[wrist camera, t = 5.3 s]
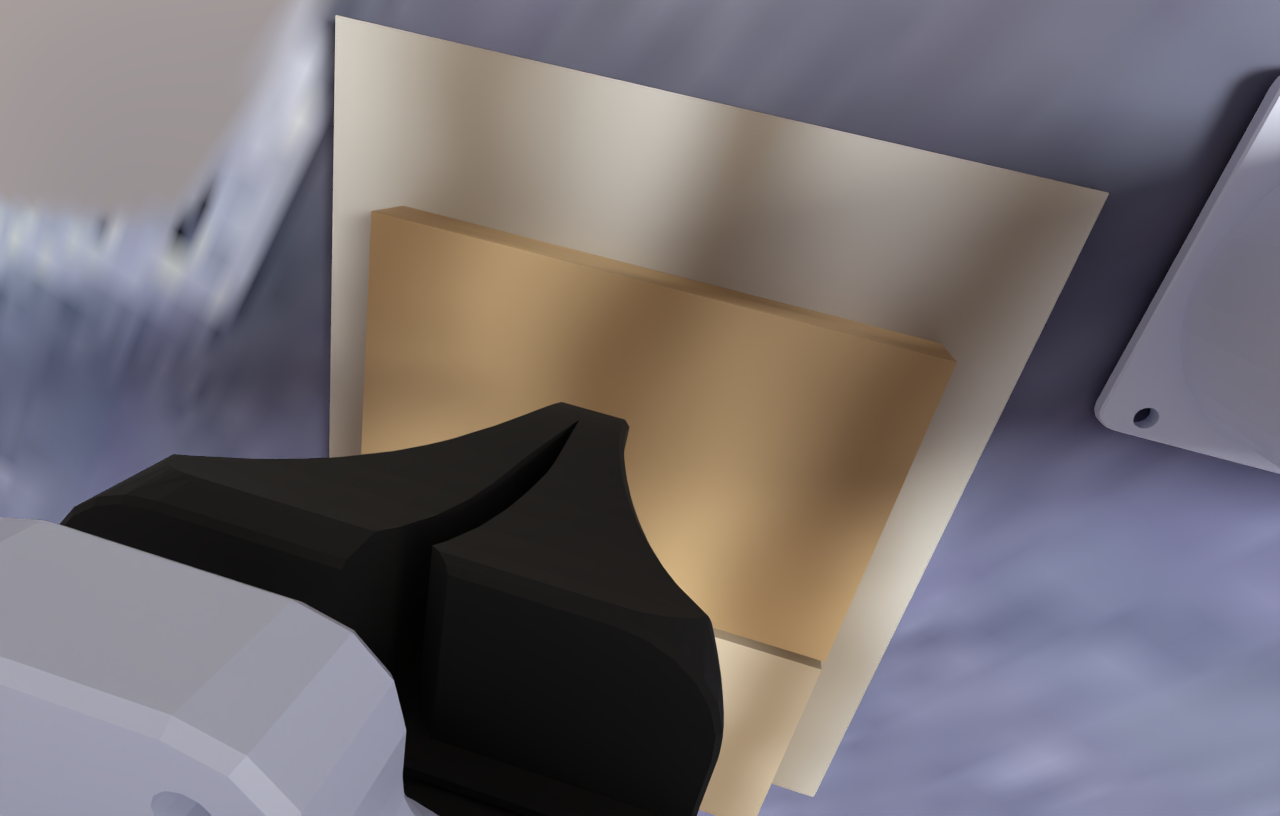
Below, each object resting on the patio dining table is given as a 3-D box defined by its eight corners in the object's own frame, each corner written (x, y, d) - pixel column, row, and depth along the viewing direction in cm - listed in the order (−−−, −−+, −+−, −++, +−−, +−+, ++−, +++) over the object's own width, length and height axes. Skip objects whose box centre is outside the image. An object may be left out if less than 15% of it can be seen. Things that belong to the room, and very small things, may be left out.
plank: (941, 343, 16) (956, 362, 14) (821, 625, 19) (825, 661, 18) (403, 205, 17) (371, 210, 16) (385, 494, 21) (358, 519, 19)
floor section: (1099, 190, 14) (1147, 199, 13) (809, 789, 23) (813, 847, 21) (347, 18, 16) (291, 2, 14) (334, 635, 24) (298, 676, 22)
